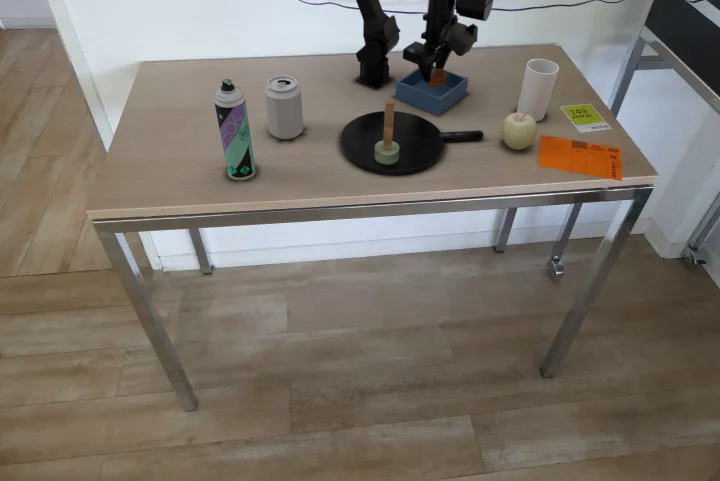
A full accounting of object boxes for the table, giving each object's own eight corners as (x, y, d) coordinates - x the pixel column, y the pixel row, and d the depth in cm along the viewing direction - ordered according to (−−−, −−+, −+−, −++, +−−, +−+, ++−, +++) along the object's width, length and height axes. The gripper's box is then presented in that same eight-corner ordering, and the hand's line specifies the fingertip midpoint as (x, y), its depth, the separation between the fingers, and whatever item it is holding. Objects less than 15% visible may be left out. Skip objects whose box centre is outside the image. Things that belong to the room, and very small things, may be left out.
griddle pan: (345, 178, 112) (345, 170, 110) (336, 117, 127) (336, 110, 126) (497, 169, 114) (499, 161, 113) (470, 111, 130) (471, 103, 128)
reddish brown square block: (424, 79, 132) (425, 69, 131) (440, 77, 133) (442, 67, 131) (429, 87, 130) (430, 77, 128) (446, 86, 130) (447, 76, 128)
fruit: (540, 148, 120) (549, 115, 114) (514, 158, 117) (523, 126, 112) (515, 130, 125) (523, 98, 119) (490, 140, 122) (497, 108, 116)
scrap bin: (395, 97, 134) (396, 81, 131) (423, 77, 140) (425, 62, 138) (438, 115, 128) (440, 99, 125) (465, 94, 135) (468, 78, 132)
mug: (549, 121, 127) (563, 73, 119) (520, 123, 127) (533, 74, 118) (534, 98, 134) (547, 51, 126) (507, 99, 134) (518, 52, 125)
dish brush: (373, 150, 116) (375, 94, 107) (397, 149, 117) (401, 93, 108) (375, 165, 113) (378, 108, 104) (400, 164, 113) (404, 107, 104)
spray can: (229, 164, 114) (212, 74, 100) (256, 163, 115) (243, 73, 100) (226, 181, 110) (209, 89, 96) (255, 180, 111) (241, 89, 97)
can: (309, 126, 124) (306, 76, 116) (295, 144, 119) (291, 94, 111) (278, 119, 126) (273, 70, 118) (263, 137, 121) (257, 87, 113)
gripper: (449, 36, 111) (440, 105, 122) (495, 7, 122) (483, 73, 133) (403, 20, 116) (398, 88, 127) (451, -7, 127) (443, 58, 138)
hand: (432, 77), depth 131 cm, fingers closed on reddish brown square block, 5 cm apart
